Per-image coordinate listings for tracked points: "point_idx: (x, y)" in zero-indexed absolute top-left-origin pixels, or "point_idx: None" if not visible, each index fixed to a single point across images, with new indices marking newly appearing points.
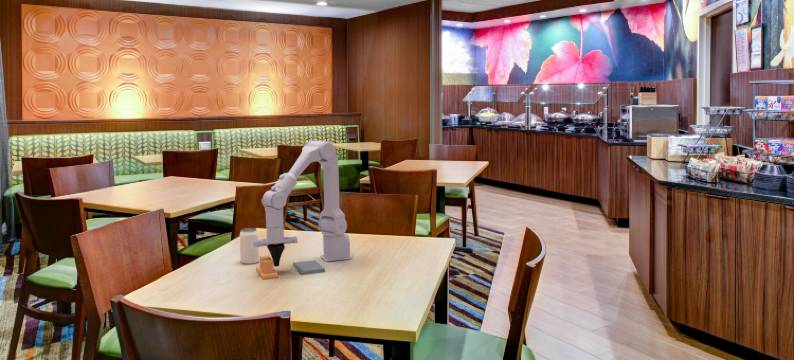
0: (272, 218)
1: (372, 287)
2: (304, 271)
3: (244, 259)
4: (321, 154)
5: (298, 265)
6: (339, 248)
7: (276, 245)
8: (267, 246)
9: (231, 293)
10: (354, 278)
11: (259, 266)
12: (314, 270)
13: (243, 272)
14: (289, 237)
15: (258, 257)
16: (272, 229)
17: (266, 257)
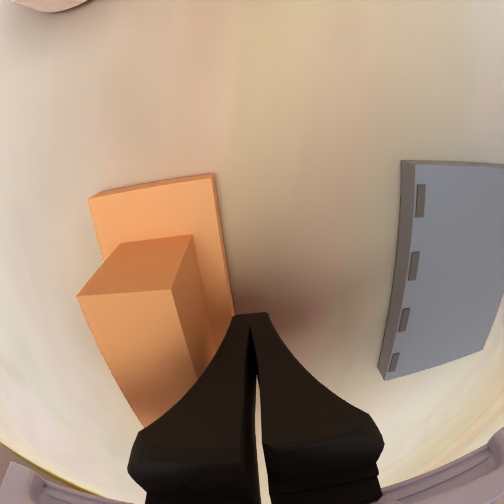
0: None
1: (455, 452)
2: (397, 374)
3: (21, 4)
4: None
5: (422, 263)
6: None
7: (274, 502)
8: (152, 489)
9: (90, 453)
10: (480, 406)
11: (113, 195)
12: (442, 360)
13: (33, 225)
14: (494, 494)
15: None
16: None
17: (155, 357)
